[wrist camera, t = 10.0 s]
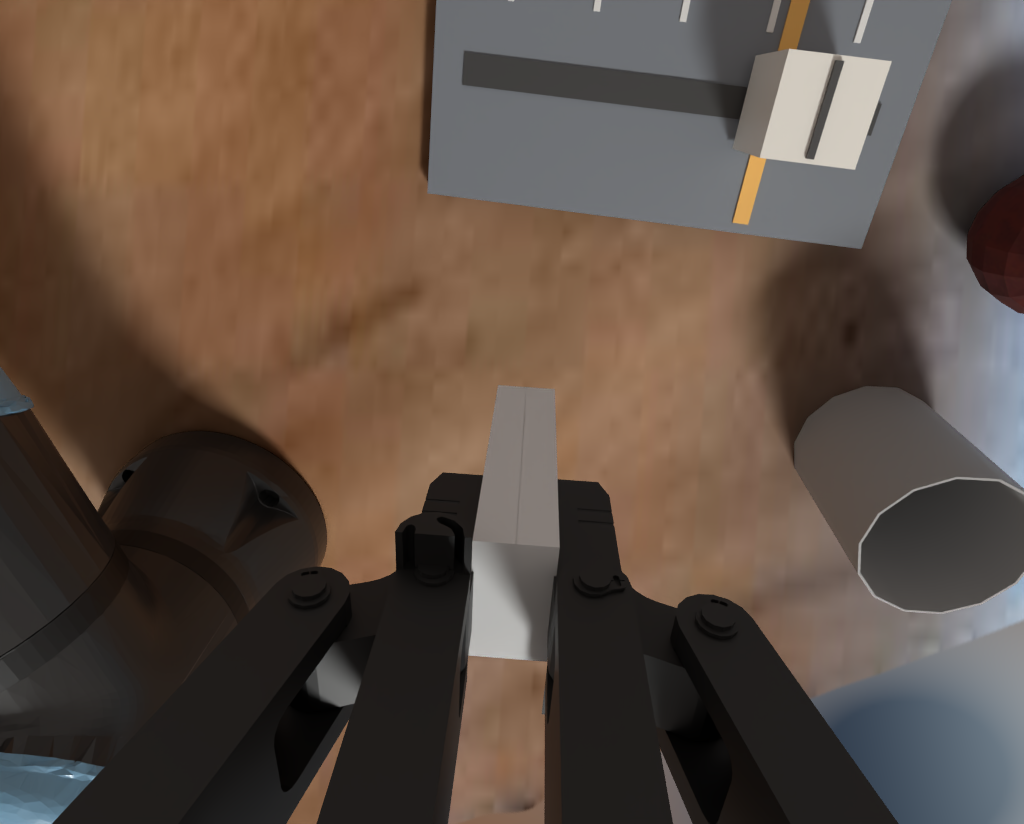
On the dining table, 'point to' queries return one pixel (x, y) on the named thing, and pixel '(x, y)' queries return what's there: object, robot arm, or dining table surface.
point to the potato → (1000, 245)
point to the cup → (912, 501)
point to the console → (660, 108)
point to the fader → (810, 107)
